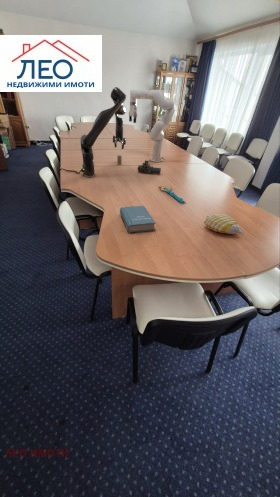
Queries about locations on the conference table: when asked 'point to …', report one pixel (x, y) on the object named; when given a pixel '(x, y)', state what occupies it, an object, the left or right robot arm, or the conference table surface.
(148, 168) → the laser sight
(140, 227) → the book
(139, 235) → the conference table surface
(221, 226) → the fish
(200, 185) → the conference table surface
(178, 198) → the logo
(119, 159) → the tin
